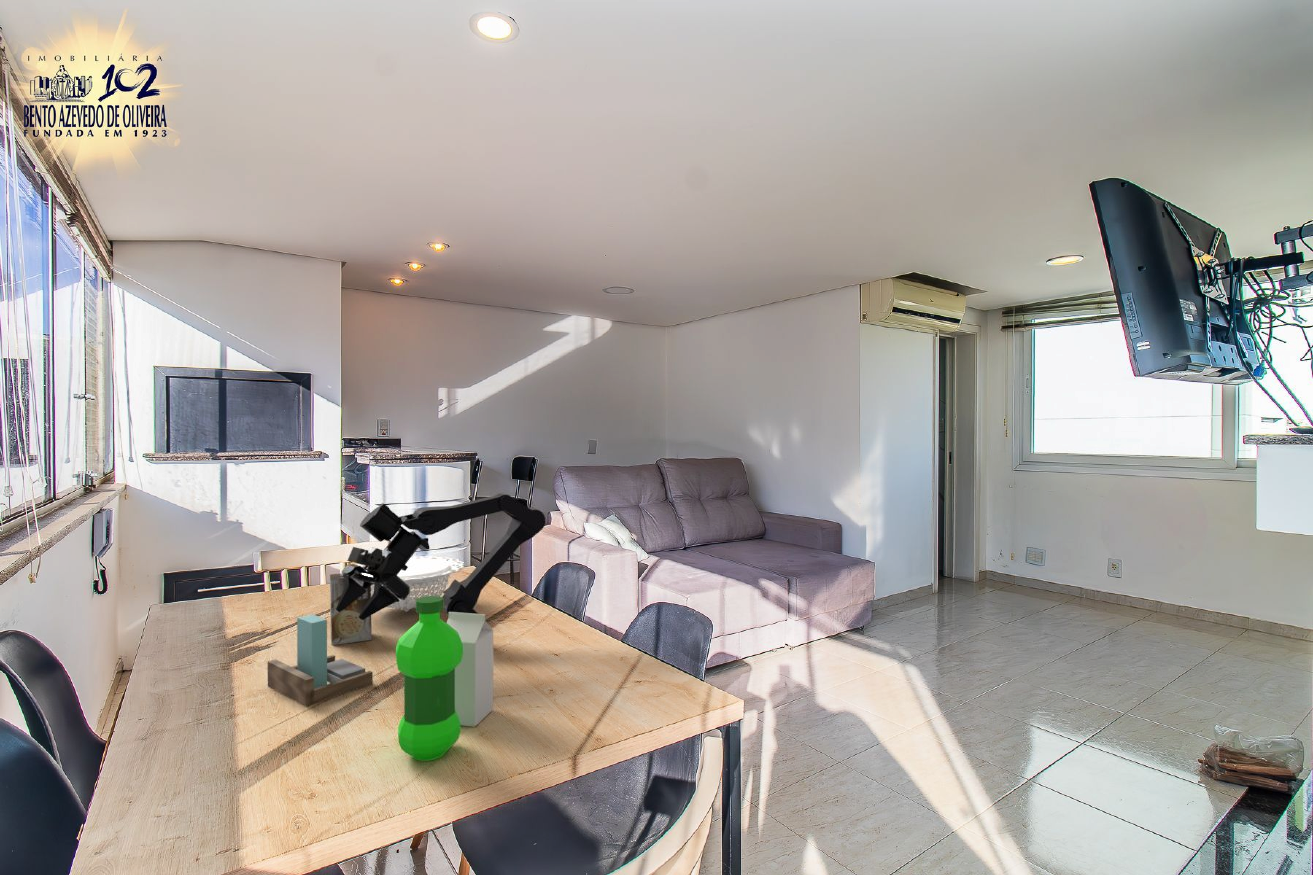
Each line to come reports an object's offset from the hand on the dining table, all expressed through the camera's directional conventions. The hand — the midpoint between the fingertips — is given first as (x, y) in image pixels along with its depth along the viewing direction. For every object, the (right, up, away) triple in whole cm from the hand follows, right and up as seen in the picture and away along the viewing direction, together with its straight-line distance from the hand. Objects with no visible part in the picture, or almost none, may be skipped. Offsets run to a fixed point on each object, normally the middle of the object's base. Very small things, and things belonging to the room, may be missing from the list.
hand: (348, 614), depth 136 cm
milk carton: (+30, -14, -18) cm, 38 cm away
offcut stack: (-1, -13, -1) cm, 13 cm away
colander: (-6, -12, +47) cm, 49 cm away
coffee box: (-11, -13, +24) cm, 29 cm away
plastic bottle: (+28, -14, -31) cm, 44 cm away
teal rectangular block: (-5, -13, -6) cm, 15 cm away
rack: (-4, -13, -5) cm, 14 cm away
